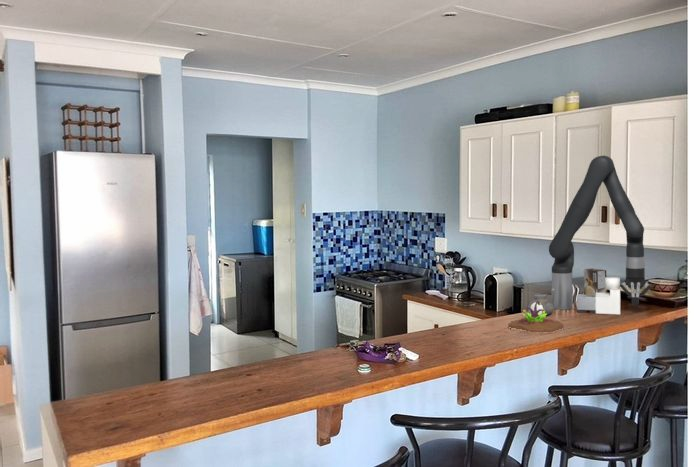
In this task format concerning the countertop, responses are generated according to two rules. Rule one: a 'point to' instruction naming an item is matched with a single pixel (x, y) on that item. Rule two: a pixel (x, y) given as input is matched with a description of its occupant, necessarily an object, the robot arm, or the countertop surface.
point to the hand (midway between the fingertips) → (635, 305)
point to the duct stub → (586, 303)
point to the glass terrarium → (544, 305)
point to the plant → (536, 322)
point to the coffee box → (594, 281)
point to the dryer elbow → (609, 297)
